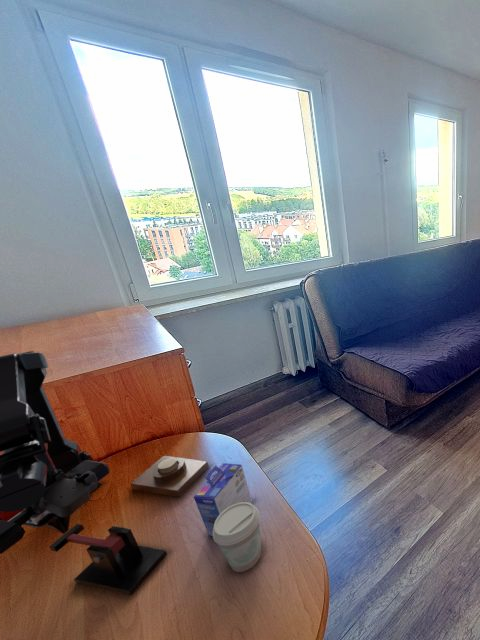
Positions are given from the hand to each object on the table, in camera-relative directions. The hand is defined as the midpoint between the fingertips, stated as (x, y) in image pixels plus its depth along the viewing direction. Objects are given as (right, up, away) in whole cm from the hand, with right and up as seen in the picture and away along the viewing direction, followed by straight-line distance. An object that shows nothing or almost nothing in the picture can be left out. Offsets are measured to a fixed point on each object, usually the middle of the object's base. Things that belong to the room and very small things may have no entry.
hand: (64, 531), depth 68 cm
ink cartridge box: (+27, -5, +12) cm, 30 cm away
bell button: (+4, +3, +22) cm, 23 cm away
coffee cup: (+36, -8, +3) cm, 37 cm away
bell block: (+4, 0, +23) cm, 24 cm away
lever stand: (+11, -8, +1) cm, 14 cm away
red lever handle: (+6, -3, 0) cm, 6 cm away
